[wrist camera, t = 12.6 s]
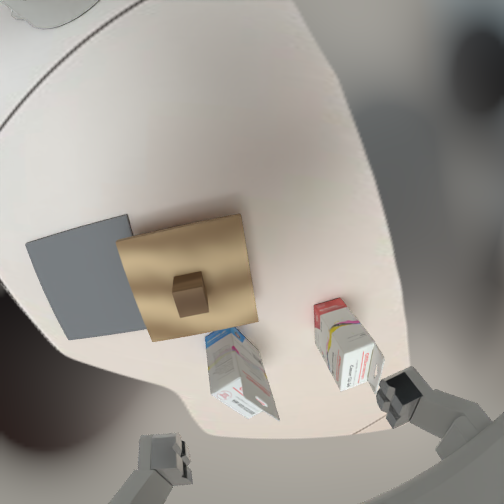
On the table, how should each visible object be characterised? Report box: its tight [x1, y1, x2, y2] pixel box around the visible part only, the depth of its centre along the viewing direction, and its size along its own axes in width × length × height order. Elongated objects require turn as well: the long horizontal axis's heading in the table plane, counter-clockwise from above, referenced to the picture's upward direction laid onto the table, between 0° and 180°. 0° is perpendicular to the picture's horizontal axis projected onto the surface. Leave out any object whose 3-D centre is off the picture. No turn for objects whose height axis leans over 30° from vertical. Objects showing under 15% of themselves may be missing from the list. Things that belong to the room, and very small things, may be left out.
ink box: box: [205, 327, 280, 421], centre depth 38 cm, size 8×5×15 cm, turn 35°
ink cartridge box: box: [314, 298, 385, 394], centre depth 39 cm, size 9×5×15 cm, turn 9°
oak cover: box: [115, 214, 259, 342], centre depth 31 cm, size 14×14×4 cm
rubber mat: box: [25, 215, 147, 340], centre depth 36 cm, size 17×17×1 cm
